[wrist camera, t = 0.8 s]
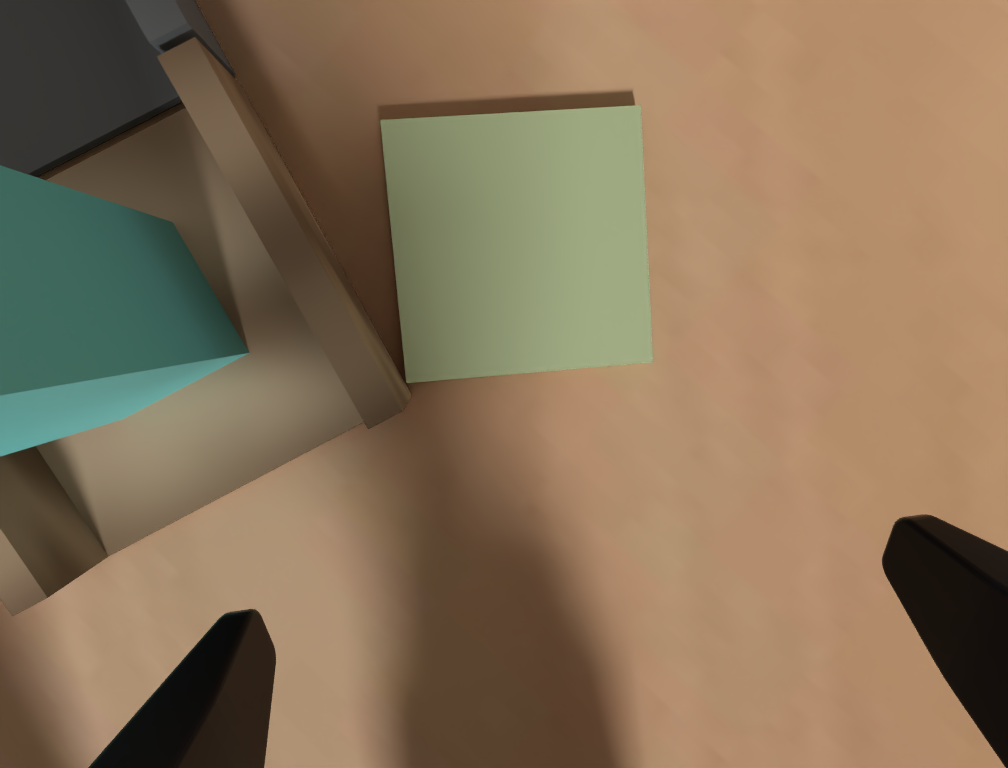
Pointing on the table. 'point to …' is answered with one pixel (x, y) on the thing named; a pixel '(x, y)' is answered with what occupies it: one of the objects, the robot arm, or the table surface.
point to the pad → (519, 241)
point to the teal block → (95, 312)
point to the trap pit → (86, 72)
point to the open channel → (227, 391)
